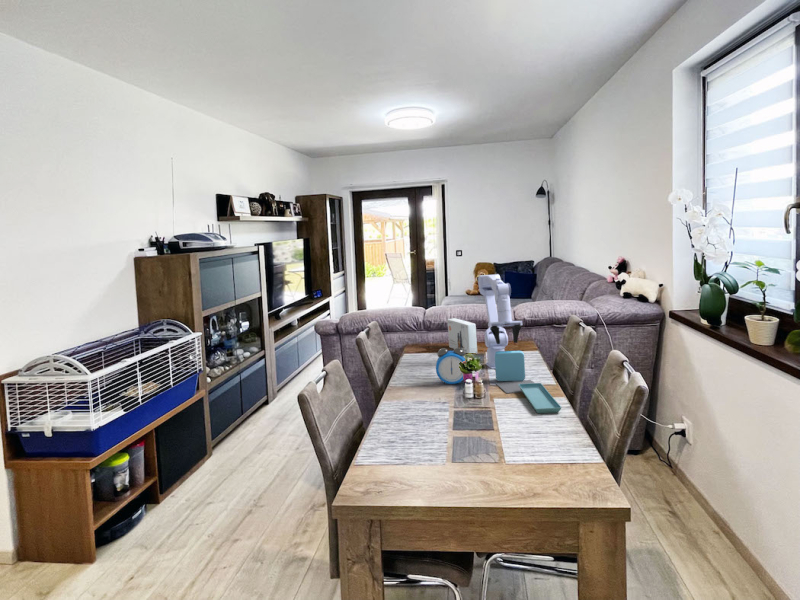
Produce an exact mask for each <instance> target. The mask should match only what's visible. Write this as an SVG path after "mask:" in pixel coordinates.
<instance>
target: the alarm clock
mask: <svg viewBox="0 0 800 600" xmlns="http://www.w3.org/2000/svg"><path fill="white" fill-rule="evenodd" d="M465 354H466V353H464V351H463V349H461V348H455V349H453V348H451V349H449V350H448V348H445V347H442V348H439V350H438V351H437V357H438V358H437V360H436V363H435V372H436V376H437V377H438V378H439V379H440V381H442V382H443V385H445V384H449V385H457V384H460V383H461V382H462V381H463V380H464V379H463V374H462V372H461V371H460V368H459V363H460V362H463V361H465V360H466V358H465Z"/></svg>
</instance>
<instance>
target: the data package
mask: <svg viewBox="0 0 800 600" xmlns="http://www.w3.org/2000/svg"><path fill="white" fill-rule="evenodd" d="M525 364H526V363H525V353H524V352H523V351H522V350H504V351H498V352H496V353H495V369H494V370H495V379H496V381H498V382H513V381H523V380H526V366H525Z"/></svg>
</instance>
